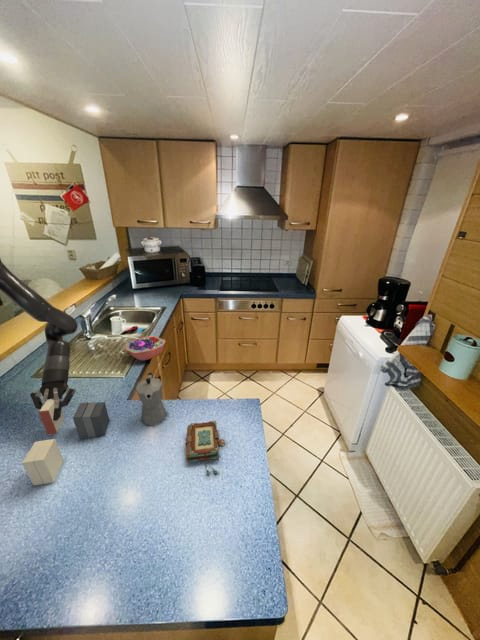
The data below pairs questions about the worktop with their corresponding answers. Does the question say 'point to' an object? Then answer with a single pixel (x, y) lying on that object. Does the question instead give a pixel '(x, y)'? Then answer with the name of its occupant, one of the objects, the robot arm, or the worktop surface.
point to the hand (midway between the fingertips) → (50, 420)
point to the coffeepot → (151, 400)
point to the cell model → (145, 347)
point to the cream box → (43, 462)
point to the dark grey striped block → (91, 419)
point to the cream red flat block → (50, 417)
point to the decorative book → (202, 442)
